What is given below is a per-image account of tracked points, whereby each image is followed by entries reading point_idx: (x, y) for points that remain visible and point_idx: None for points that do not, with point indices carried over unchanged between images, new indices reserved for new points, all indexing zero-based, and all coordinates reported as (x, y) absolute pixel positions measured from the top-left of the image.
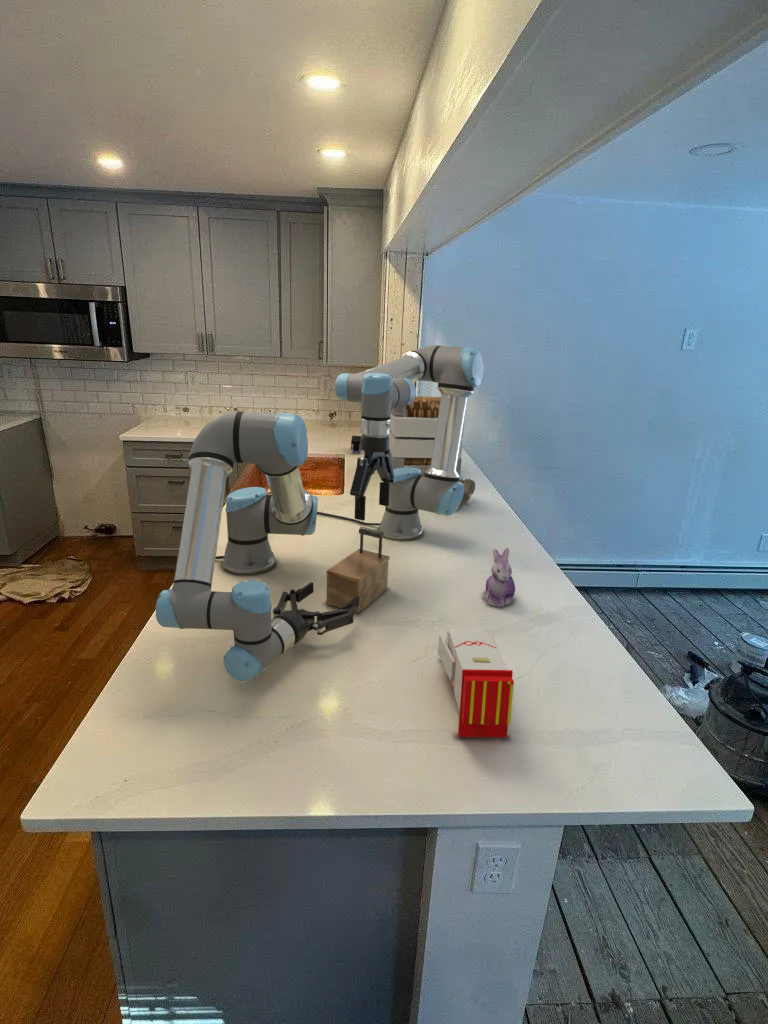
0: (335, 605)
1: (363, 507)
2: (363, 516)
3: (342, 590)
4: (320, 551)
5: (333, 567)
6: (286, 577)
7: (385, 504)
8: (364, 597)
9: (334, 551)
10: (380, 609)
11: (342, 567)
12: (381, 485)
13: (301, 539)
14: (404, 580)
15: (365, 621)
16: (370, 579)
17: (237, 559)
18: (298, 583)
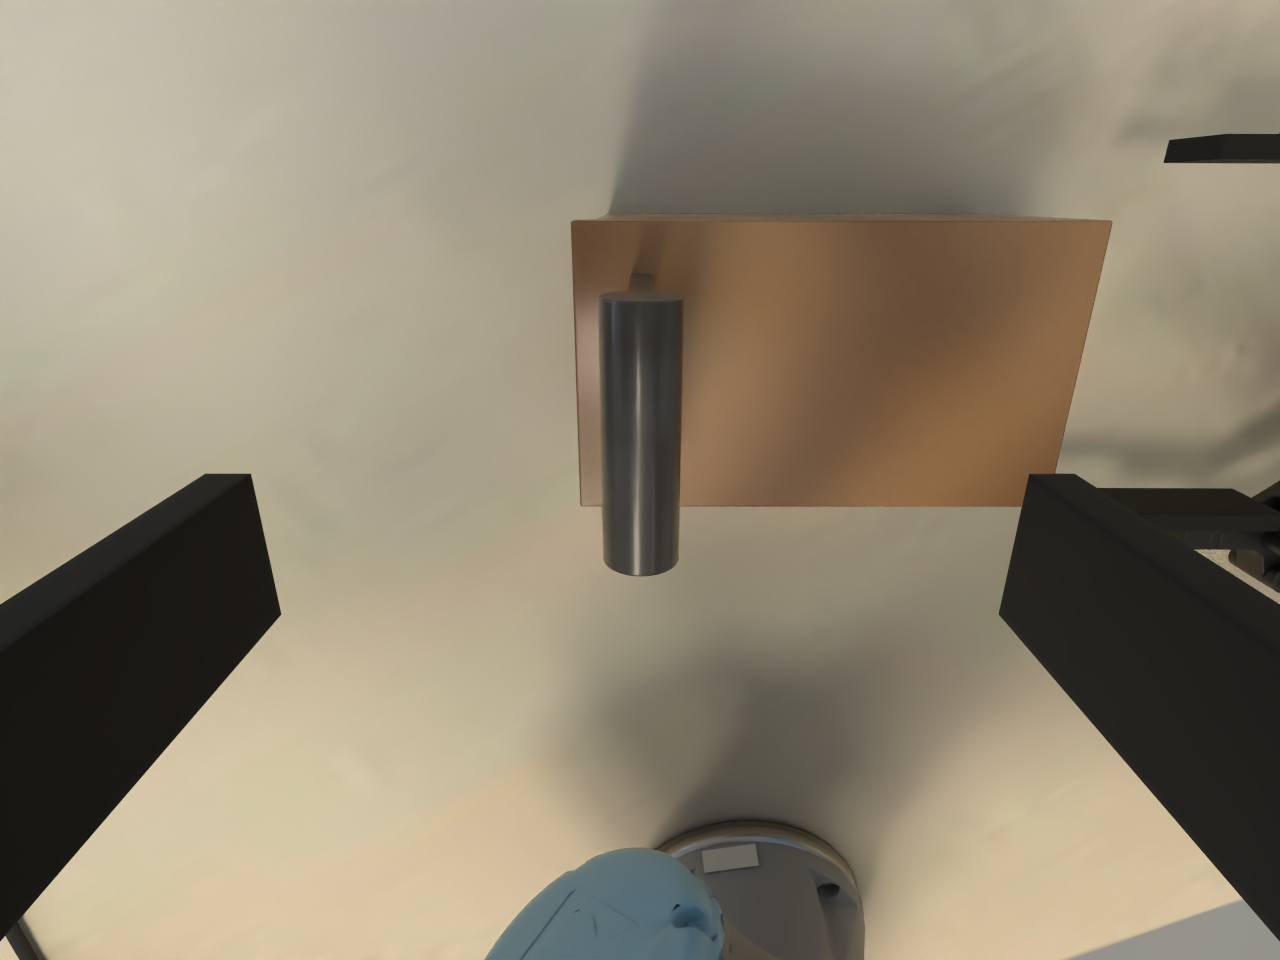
0: None
1: (1242, 596)
2: (1115, 506)
3: None
4: (423, 751)
5: (982, 493)
6: (774, 723)
7: (243, 521)
8: (935, 215)
9: (373, 700)
10: (872, 115)
11: (957, 440)
12: (6, 877)
13: (368, 882)
14: (433, 165)
15: (1045, 126)
16: (892, 218)
17: (863, 954)
18: (803, 650)
